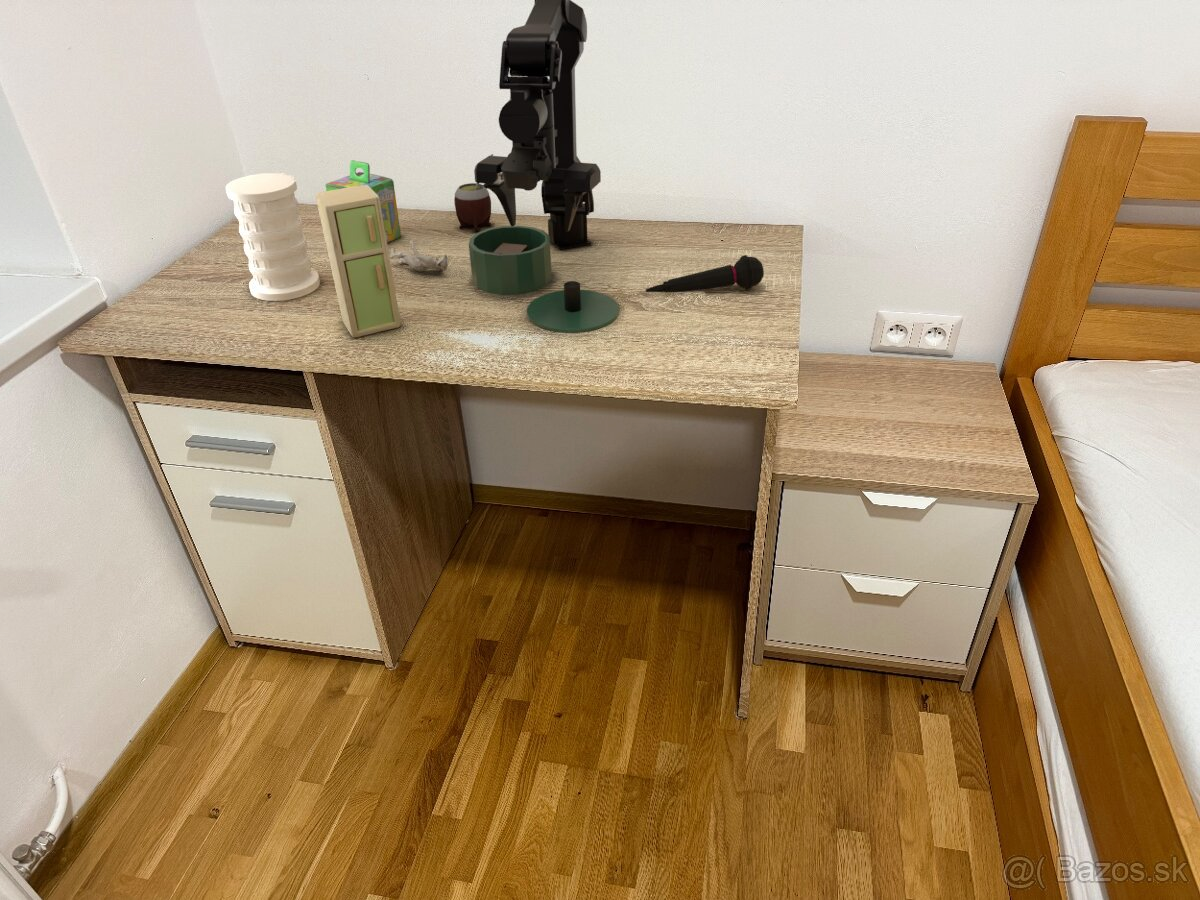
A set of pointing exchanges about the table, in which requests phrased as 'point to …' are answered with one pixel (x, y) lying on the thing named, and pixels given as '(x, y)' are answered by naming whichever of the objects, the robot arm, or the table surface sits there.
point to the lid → (572, 310)
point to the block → (511, 248)
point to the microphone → (717, 277)
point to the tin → (510, 260)
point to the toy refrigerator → (359, 259)
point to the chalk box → (381, 188)
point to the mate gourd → (473, 206)
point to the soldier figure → (420, 260)
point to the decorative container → (273, 236)
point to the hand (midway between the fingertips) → (540, 228)
